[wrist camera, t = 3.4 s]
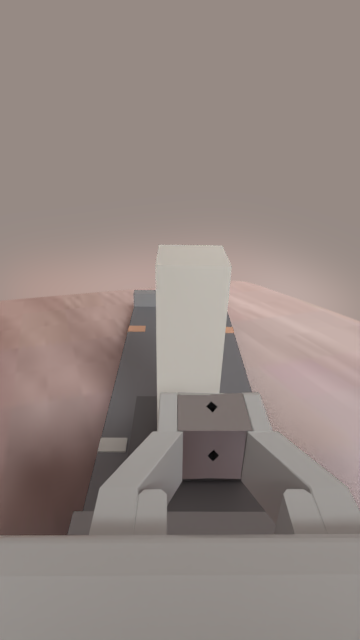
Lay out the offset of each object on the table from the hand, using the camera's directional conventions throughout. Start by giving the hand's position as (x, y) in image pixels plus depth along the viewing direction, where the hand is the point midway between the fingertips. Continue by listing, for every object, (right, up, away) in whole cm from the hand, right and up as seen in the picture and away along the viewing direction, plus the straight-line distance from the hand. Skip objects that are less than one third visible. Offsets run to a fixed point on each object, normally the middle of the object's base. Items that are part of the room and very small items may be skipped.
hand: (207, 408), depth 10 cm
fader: (-1, -5, +10) cm, 11 cm away
